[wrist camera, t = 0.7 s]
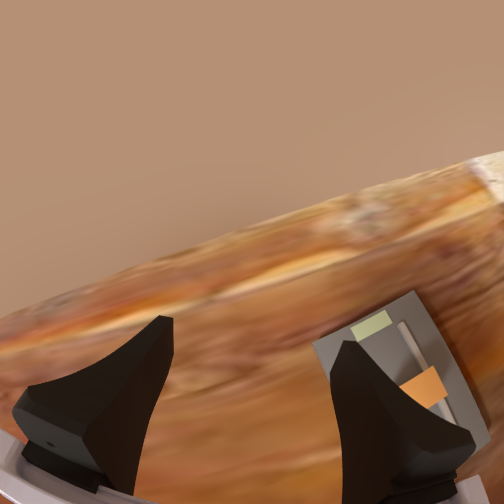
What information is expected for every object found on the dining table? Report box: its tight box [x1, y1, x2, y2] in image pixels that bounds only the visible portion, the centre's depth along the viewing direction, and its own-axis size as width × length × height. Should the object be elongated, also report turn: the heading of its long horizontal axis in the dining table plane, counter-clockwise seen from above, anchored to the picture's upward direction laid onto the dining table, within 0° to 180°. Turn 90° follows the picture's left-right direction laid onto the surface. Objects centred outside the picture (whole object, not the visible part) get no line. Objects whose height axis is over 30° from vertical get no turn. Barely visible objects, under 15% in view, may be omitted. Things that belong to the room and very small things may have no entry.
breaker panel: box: [312, 290, 491, 458], centre depth 22 cm, size 19×12×3 cm, turn 20°
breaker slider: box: [399, 366, 448, 409], centre depth 20 cm, size 3×4×4 cm
